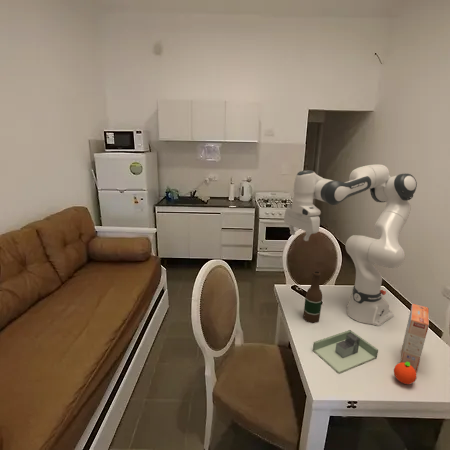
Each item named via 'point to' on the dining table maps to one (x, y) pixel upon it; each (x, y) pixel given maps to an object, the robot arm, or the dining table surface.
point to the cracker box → (415, 335)
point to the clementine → (405, 373)
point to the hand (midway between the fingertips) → (298, 237)
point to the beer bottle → (313, 300)
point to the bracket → (348, 346)
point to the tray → (327, 353)
